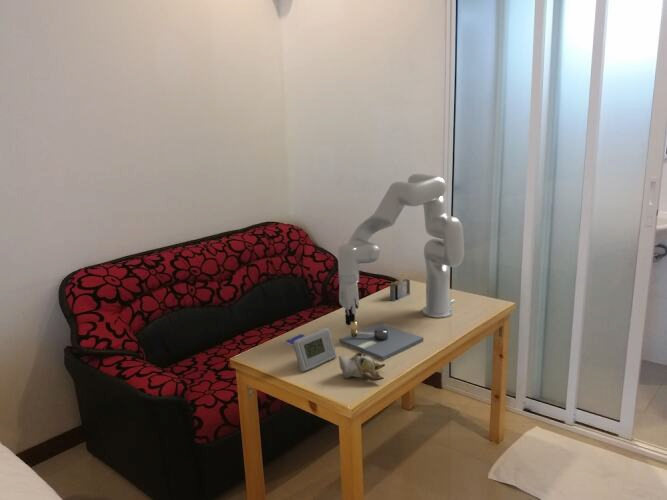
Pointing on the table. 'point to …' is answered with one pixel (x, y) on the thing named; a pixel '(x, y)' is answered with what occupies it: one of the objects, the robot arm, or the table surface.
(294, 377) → the table surface
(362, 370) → the ceramic sculpture
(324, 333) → the digital clock
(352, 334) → the lever
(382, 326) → the dial plate
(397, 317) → the table surface
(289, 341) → the hard drive
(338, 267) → the robot arm
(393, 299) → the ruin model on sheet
